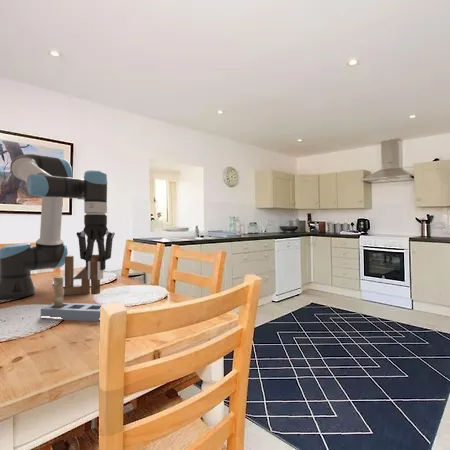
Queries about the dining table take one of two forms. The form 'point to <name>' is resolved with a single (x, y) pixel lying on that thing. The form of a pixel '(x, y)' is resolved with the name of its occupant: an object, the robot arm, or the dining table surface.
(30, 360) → the dining table surface
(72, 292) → the wooden block
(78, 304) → the hole block
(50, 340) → the dining table surface
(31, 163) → the robot arm
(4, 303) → the dining table surface
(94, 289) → the walnut dowel
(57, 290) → the beech dowel
